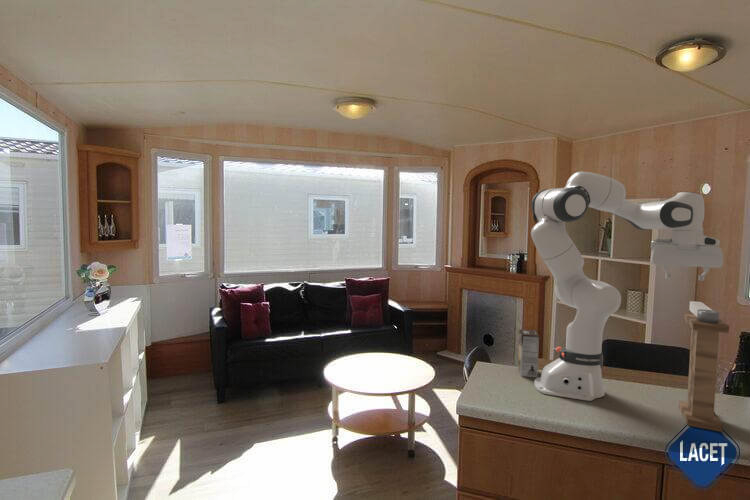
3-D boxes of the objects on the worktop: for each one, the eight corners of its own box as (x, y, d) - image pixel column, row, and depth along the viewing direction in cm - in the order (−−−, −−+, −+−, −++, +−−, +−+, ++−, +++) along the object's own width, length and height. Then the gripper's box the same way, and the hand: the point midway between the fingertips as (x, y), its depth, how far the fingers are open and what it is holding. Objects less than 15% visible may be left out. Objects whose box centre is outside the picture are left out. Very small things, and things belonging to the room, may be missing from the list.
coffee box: (517, 368, 171) (518, 328, 170) (534, 369, 169) (535, 329, 168) (520, 376, 162) (521, 334, 161) (538, 377, 160) (539, 335, 159)
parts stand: (722, 431, 120) (729, 325, 118) (687, 425, 123) (693, 322, 121) (710, 412, 132) (716, 316, 130) (679, 407, 136) (684, 313, 134)
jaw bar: (720, 324, 120) (721, 313, 120) (698, 322, 122) (699, 311, 122) (704, 311, 138) (705, 302, 138) (685, 309, 140) (686, 300, 140)
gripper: (652, 238, 150) (649, 277, 150) (725, 240, 141) (723, 282, 141) (650, 238, 156) (648, 276, 156) (721, 240, 146) (718, 281, 147)
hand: (684, 279), depth 148 cm, fingers open, 8 cm apart
